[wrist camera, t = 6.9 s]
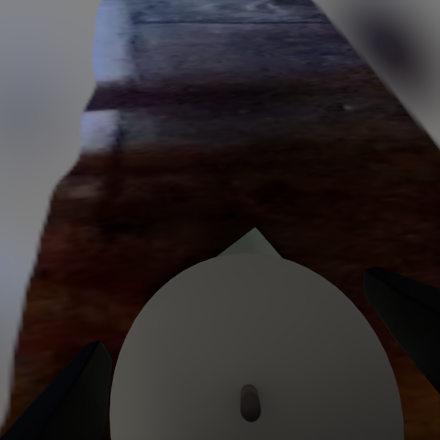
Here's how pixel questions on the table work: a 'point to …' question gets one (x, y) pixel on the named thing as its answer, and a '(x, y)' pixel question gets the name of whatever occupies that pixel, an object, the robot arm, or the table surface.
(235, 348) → the candle
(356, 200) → the table surface
